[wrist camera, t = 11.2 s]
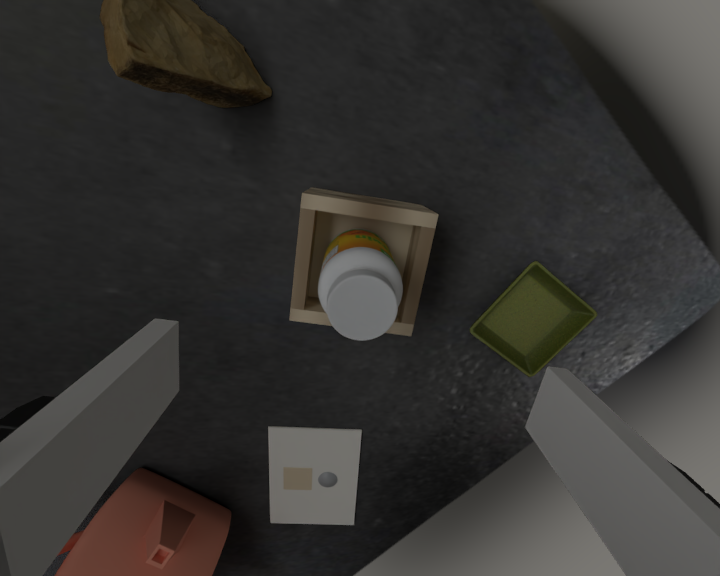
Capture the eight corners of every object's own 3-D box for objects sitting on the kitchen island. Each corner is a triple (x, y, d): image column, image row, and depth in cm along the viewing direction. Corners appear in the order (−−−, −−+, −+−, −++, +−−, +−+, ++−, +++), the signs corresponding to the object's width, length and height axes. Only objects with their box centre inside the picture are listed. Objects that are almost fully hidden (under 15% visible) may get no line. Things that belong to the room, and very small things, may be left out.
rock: (62, -45, 23) (110, 119, 25) (48, -177, 16) (115, 63, 18) (229, -8, 29) (257, 121, 31) (270, -92, 22) (303, 80, 24)
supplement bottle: (403, 249, 28) (430, 293, 19) (368, 302, 30) (377, 366, 21) (345, 214, 27) (345, 243, 18) (312, 271, 29) (296, 325, 20)
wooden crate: (300, 291, 33) (289, 320, 27) (311, 187, 30) (302, 193, 24) (400, 305, 34) (411, 336, 28) (420, 204, 31) (438, 214, 25)
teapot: (212, 591, 46) (157, 759, 33) (45, 521, 42) (-94, 684, 29) (297, 497, 42) (272, 651, 28) (119, 405, 37) (-9, 539, 24)
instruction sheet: (270, 521, 43) (270, 523, 42) (268, 426, 38) (268, 427, 38) (353, 523, 43) (353, 525, 43) (361, 429, 38) (361, 430, 38)
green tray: (521, 368, 37) (531, 379, 35) (460, 322, 35) (467, 331, 33) (585, 306, 35) (599, 314, 33) (524, 253, 33) (535, 259, 31)
